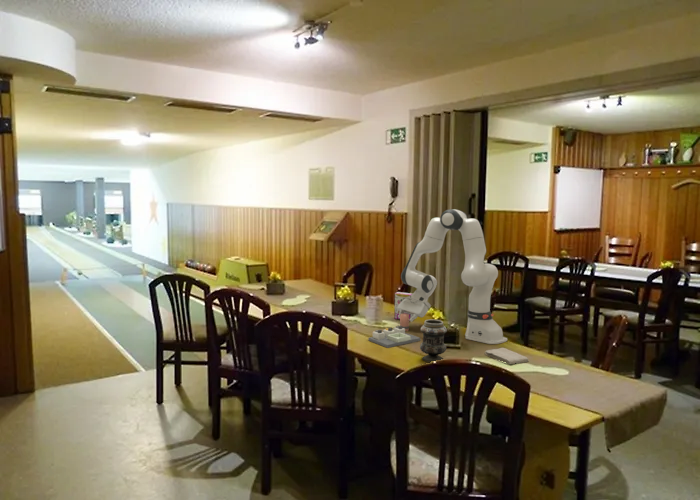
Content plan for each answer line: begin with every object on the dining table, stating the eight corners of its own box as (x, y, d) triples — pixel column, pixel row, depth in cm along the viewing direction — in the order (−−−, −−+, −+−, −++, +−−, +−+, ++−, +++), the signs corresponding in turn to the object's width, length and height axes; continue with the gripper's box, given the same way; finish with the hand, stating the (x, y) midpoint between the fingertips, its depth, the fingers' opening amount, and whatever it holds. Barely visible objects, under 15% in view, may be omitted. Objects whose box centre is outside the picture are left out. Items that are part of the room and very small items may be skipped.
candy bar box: (394, 319, 309) (394, 293, 307) (397, 317, 313) (397, 291, 311) (410, 321, 303) (410, 294, 301) (414, 319, 307) (414, 293, 305)
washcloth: (502, 351, 244) (502, 345, 244) (529, 362, 228) (529, 356, 228) (482, 355, 239) (482, 349, 239) (509, 366, 223) (509, 359, 223)
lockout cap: (410, 330, 283) (410, 314, 282) (403, 331, 280) (404, 315, 279) (404, 328, 287) (405, 313, 286) (398, 329, 284) (398, 314, 283)
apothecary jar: (451, 361, 229) (452, 322, 227) (429, 365, 224) (430, 325, 222) (436, 354, 240) (436, 317, 238) (414, 357, 235) (415, 319, 233)
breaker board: (420, 340, 262) (420, 329, 261) (387, 347, 250) (387, 336, 249) (400, 333, 275) (400, 323, 275) (368, 340, 263) (368, 329, 262)
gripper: (403, 293, 294) (390, 312, 290) (427, 299, 278) (413, 319, 273) (408, 300, 297) (395, 318, 293) (432, 306, 281) (419, 326, 276)
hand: (404, 319), depth 283 cm, fingers open, 8 cm apart
